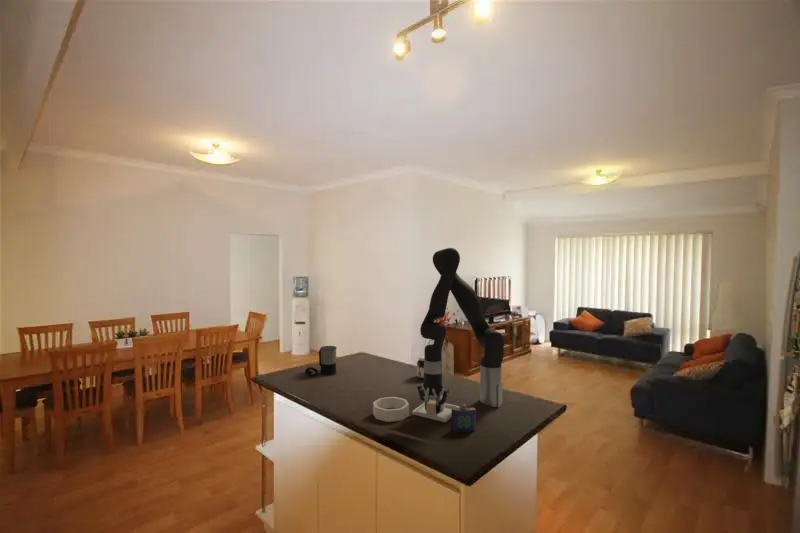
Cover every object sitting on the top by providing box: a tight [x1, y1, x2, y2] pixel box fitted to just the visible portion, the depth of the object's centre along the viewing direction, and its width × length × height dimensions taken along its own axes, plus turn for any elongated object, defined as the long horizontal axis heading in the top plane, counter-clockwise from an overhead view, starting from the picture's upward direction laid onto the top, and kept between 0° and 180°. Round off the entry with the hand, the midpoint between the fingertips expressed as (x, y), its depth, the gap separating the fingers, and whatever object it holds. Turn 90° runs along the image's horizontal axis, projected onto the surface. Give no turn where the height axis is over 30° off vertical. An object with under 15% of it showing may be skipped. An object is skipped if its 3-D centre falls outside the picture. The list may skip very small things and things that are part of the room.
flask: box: [451, 403, 477, 433], centre depth 139 cm, size 9×3×11 cm, turn 95°
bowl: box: [372, 396, 410, 423], centre depth 154 cm, size 14×14×5 cm
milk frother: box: [304, 345, 338, 377], centre depth 210 cm, size 14×16×15 cm
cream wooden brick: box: [426, 399, 438, 416], centre depth 153 cm, size 4×4×5 cm
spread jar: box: [416, 354, 425, 381], centre depth 204 cm, size 12×11×12 cm
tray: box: [411, 399, 461, 423], centre depth 156 cm, size 15×15×2 cm
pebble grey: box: [433, 395, 447, 411], centre depth 159 cm, size 4×4×5 cm
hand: (432, 411), depth 153 cm, fingers closed on cream wooden brick, 4 cm apart
